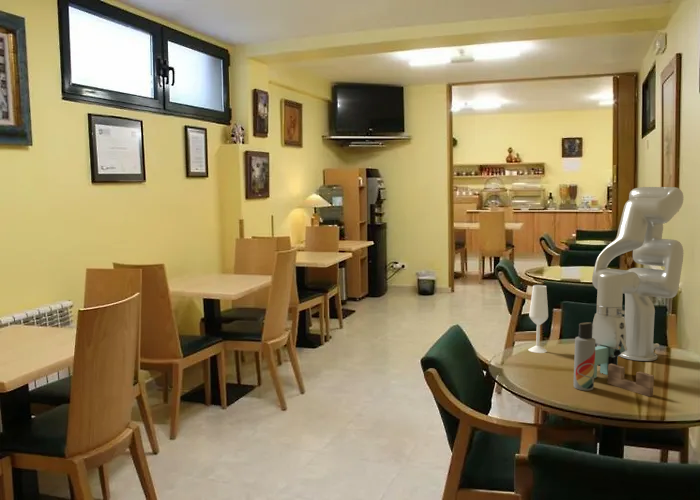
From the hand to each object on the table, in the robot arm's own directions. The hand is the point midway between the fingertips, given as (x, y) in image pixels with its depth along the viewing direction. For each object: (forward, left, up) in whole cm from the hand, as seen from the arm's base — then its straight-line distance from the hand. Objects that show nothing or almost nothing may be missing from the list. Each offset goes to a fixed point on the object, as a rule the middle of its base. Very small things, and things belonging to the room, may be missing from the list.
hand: (606, 366), depth 200 cm
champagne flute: (-2, -31, -2) cm, 31 cm away
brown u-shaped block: (+8, +14, -2) cm, 16 cm away
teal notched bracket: (+4, 0, -2) cm, 5 cm away
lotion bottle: (+19, +6, -2) cm, 20 cm away
